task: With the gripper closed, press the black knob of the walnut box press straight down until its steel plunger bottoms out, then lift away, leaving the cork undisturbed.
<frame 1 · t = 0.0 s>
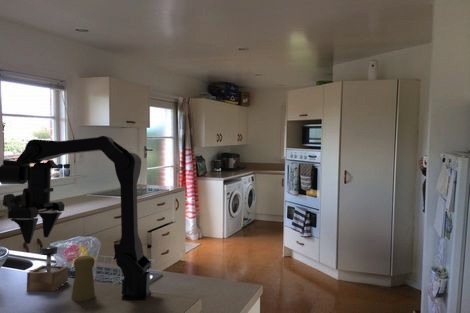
hand: (37, 240, 104), 15 cm above the table, tool pointing down, fingers open, 9 cm apart
press housing: (47, 286, 109), on the table
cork: (83, 297, 101), on the table
plunger: (48, 260, 109), point 8 cm above the table, slide at 3.5 cm
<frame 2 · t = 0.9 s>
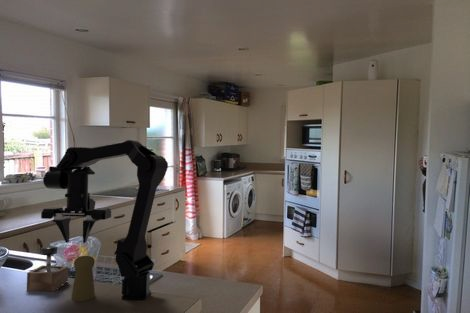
hand: (76, 242, 109), 13 cm above the table, tool pointing down, fingers open, 5 cm apart
nothing on the table moved.
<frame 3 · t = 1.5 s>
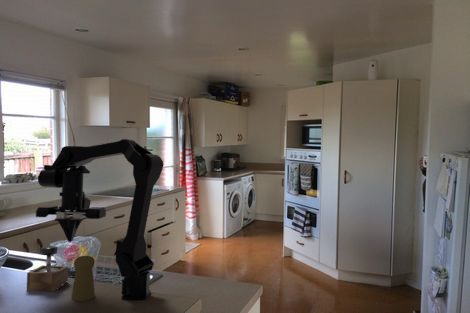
hand: (70, 241, 109), 13 cm above the table, tool pointing down, fingers closed
nothing on the table moved.
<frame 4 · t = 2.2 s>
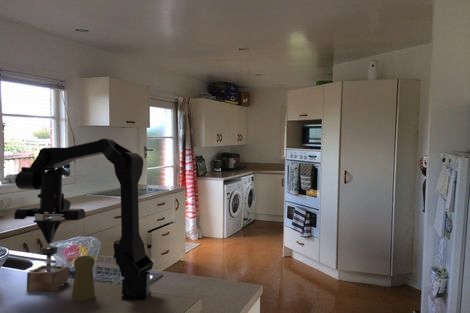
hand: (49, 243, 110), 13 cm above the table, tool pointing down, fingers closed
nothing on the table moved.
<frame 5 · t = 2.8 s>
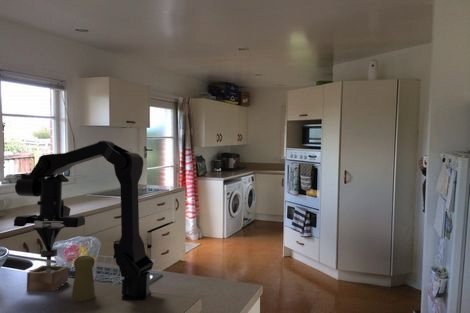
hand: (49, 250, 109), 11 cm above the table, tool pointing down, fingers closed, pressing on plunger
plunger: (48, 262, 109), point 7 cm above the table, slide at 2.8 cm, touching gripper
everything else where it was.
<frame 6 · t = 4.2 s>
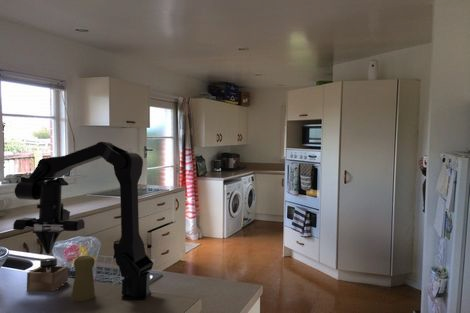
hand: (48, 253, 109), 10 cm above the table, tool pointing down, fingers closed
plunger: (48, 272, 109), point 4 cm above the table, slide at -0.1 cm
everything else where it was.
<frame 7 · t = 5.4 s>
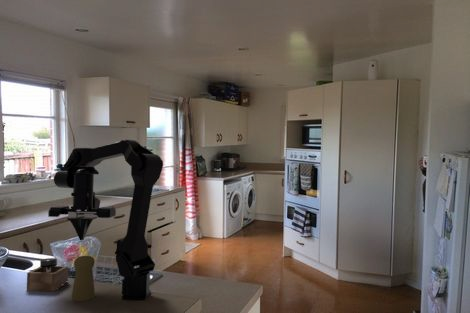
hand: (81, 240, 113), 13 cm above the table, tool pointing down, fingers closed
nothing on the table moved.
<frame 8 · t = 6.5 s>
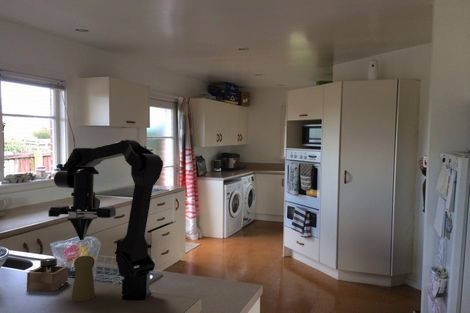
hand: (81, 240, 113), 13 cm above the table, tool pointing down, fingers closed
nothing on the table moved.
at the end: plunger slide at -0.1 cm; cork moved 0.2 cm from its start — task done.
